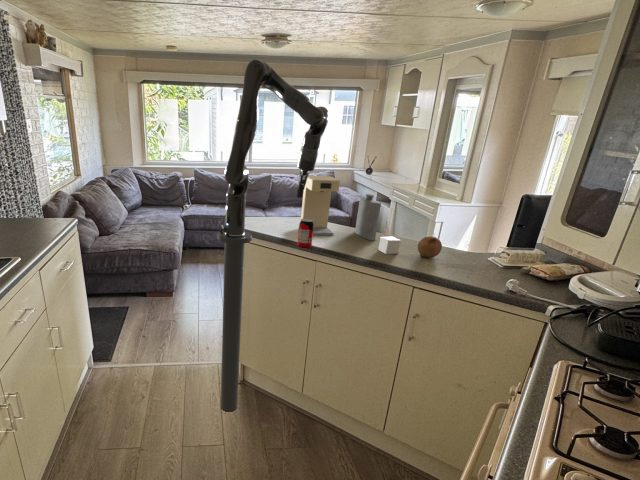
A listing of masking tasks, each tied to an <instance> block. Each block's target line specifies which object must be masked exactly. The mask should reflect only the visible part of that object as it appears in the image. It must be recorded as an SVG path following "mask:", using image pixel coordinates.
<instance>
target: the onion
mask: <svg viewBox="0 0 640 480" xmlns="http://www.w3.org/2000/svg"><path fill="white" fill-rule="evenodd" d="M442 248H443V243H442V241H441V240H440V239H439V238H438V237H436V236H434V235H433V236H432V235H427V236H424V237H423V238H421V239H420V240H419V242H418V243H417V252H418V253H419V255H420V257H424V258H427V259H433V258H435V257H437V256H438V255H439V254H440V253H441V252H442Z"/></svg>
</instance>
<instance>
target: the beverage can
mask: <svg viewBox="0 0 640 480" xmlns="http://www.w3.org/2000/svg"><path fill="white" fill-rule="evenodd" d="M313 229H314V223H313V220H312V219H301V218H300V221H299V224H298V233H297V246H298V247H299V248H302V249H309V248H311V247H312V245H313V239H314V238H313V237H314V235H313Z"/></svg>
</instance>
